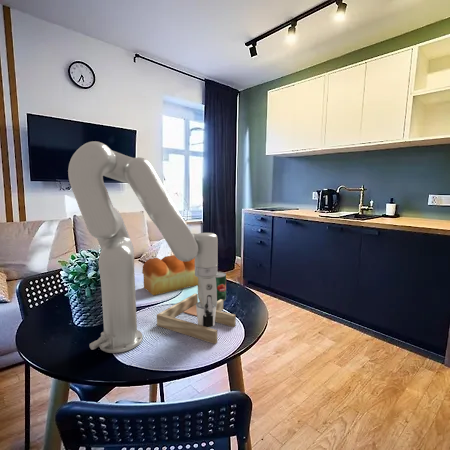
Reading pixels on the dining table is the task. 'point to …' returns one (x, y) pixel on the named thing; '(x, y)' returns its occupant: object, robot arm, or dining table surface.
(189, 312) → the pad
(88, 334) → the dining table surface
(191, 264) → the bread
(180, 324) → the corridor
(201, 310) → the shot glass
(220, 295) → the canned tomato
